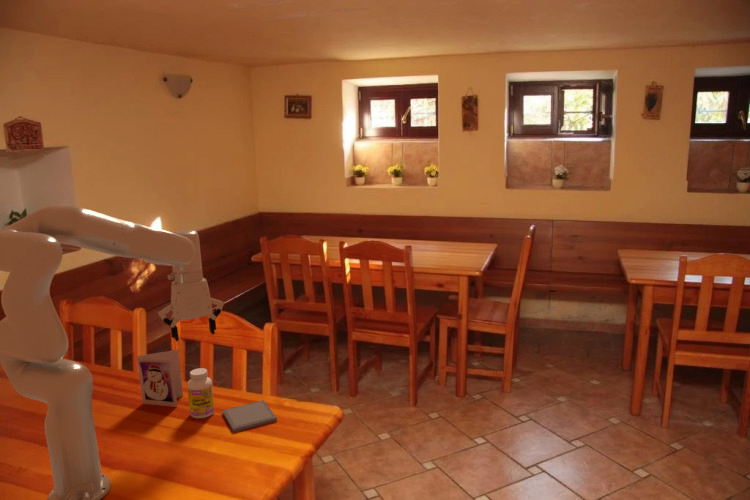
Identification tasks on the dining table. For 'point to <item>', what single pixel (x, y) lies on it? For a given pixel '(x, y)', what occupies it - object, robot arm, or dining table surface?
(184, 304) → the robot arm
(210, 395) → the supplement bottle
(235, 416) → the slate trivet
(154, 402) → the greeting card
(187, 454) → the dining table surface
